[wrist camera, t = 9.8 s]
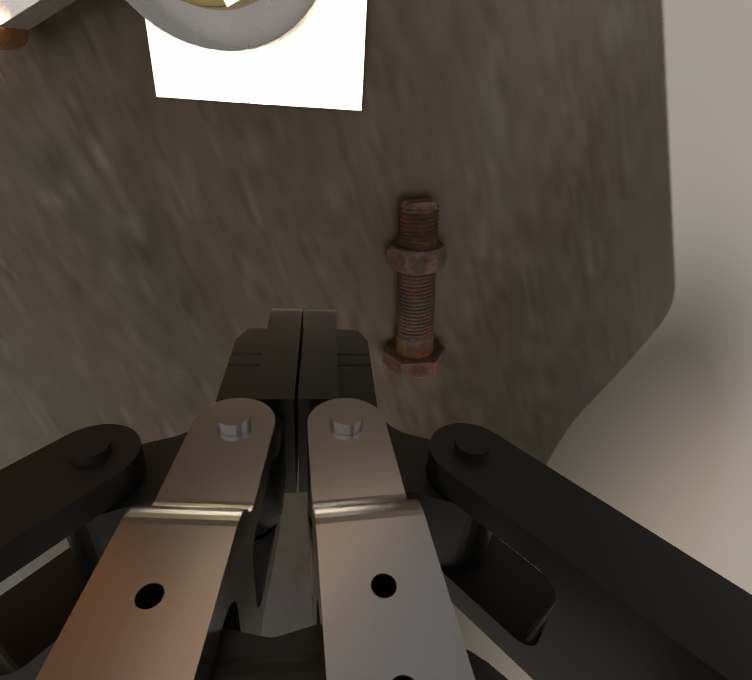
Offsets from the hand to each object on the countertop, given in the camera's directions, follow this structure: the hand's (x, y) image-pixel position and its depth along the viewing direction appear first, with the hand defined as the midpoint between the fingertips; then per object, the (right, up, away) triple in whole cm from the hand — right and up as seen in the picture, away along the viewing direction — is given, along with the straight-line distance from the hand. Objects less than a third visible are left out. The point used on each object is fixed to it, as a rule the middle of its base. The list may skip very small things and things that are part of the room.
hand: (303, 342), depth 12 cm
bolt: (+5, +6, +32) cm, 32 cm away
